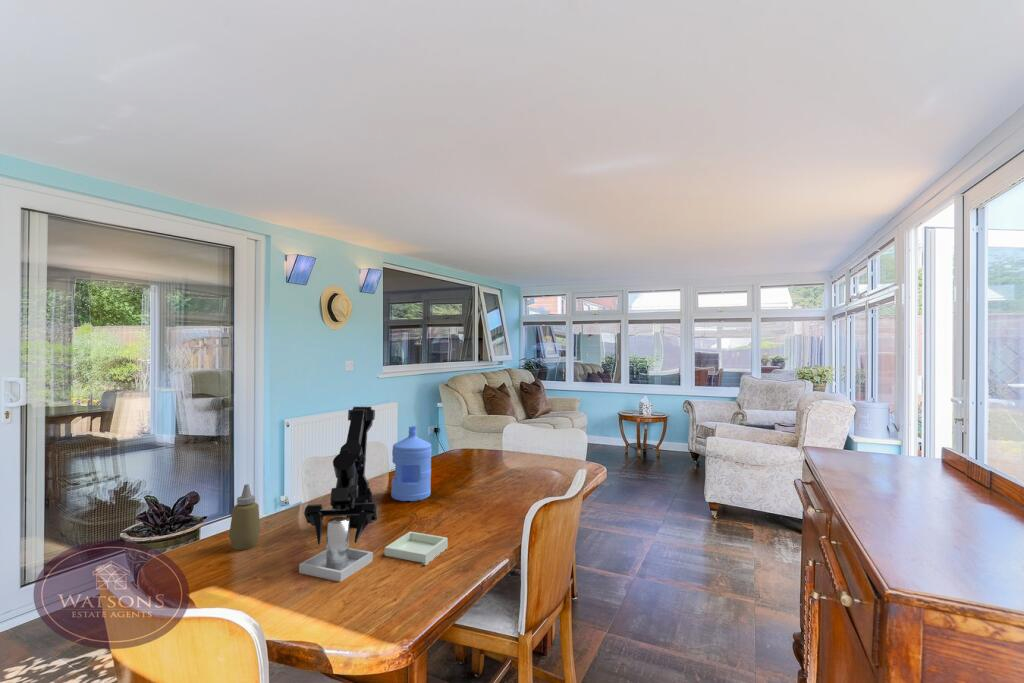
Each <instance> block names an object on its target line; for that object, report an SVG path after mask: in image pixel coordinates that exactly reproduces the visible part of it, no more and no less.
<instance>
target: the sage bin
mask: <svg viewBox="0 0 1024 683" xmlns="http://www.w3.org/2000/svg"><path fill="white" fill-rule="evenodd" d="M448 543H449V538H448V537H444V536H440V535H433V534H427V533H421V532H417V531H416V532H415V531H408V532H407V533H405V534H403V535H402V536H400V537H398V539H395V540H394V541H393V542H391V543H389V544H388V545H386V546H385V547H384V556H385V557H390V558H391V557H392V558H396V559H399V560H400V559H401V560H407V561H413V562H416V563H417V562H418V563H421V566H423V565H426V566H427V565H428V564H430V563H431V562H433V560H435V559H436V558H437V557H439V556H440V555H441V554H442V553H444V551H446V550H447V549H448V545H449V544H448ZM445 549H446V550H445ZM441 552H442V553H441ZM440 553H441V554H440ZM436 556H437V557H436ZM435 557H436V558H435ZM434 558H435V559H434ZM430 561H431V562H430ZM429 562H430V563H429Z"/></svg>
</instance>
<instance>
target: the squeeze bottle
mask: <svg viewBox="0 0 1024 683" xmlns="http://www.w3.org/2000/svg"><path fill="white" fill-rule="evenodd" d="M260 521H261V520H260V510H259V504H258V503H257V502H256V495H254V494H252V492H251V487H250V484H248V483H247V484H244V486H243V488H242V493H241V496H238V497H237V498H236V505H234V507H232V514H231V520H230V526H229V534H228V538H229V541H230V543H231V545H232V549H233V550H235V551H242V550H248V549H251V548H254V547H255V546H256V545H257V543H258V540H259V538H260V535H261V522H260Z"/></svg>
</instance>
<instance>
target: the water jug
mask: <svg viewBox="0 0 1024 683" xmlns="http://www.w3.org/2000/svg"><path fill="white" fill-rule="evenodd" d="M417 428H418V426H413V425H412V426H408V436H407V437H406V438H404V439H401V440H399V441H397V442H395V443H393V445H392V451H391V452H392V454H391V455H392V463H393V464H394V465H395V470H394V471H395V472H394V477H393V478H392V479H391V491H390V493H391V495H390V496H391V498H392V499H394V500H396V501H398V500H399V501H400V502H406V501H410V502H418V500H419V501H424V500H426V499H427V498H429V497H430V496H431V493H432V492H431V491H432V489H431V478H432V477H431V475H432V454H433V452H432V451H433V450H432V444H431V442H429V441H426V440H424V439H422V438H420V437H418V436H417V433H418V432H417Z"/></svg>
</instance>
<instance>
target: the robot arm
mask: <svg viewBox="0 0 1024 683" xmlns="http://www.w3.org/2000/svg"><path fill="white" fill-rule="evenodd" d="M347 412H348V413H347V421H349V426H348V432H347V437H346V442H345V443H344V444H343V445H342V446H341V447H340V450H339V453H338V454H337V455H336V456H335V457H334V458H333V460H332V465H333V470H334V474H335V478H336V484H335V487H332V488H331V492H330V498H329V499H330V500H329V501H330V506H331V508H323V505H322V503H321V504H320V503H317V504H307V505H306V507H305V508H304V511H303V514H304V518H305V520H306V523H307V524H310V525H311V526H313V527H315V532H316V539H317V544H318V546H320V545H321V543H322V537H323V528H324V523H323V520H324V517H325V518H326V517H345V516H346V517H347V518H349V519H350V525H349V527H353V528H356V530H355V534H354V544H357V543H358V541H359V539H360V537H361V535H362V534H363V532H364V531H365V529H366V528H367V527H368V525H370V524H372V523H373V522H374V521H378V517H379V516H378V515H379V514H378V513H379V512H378V511H379V510H378V504H377V503H376V502H375V501H374V502H373V491H372V490H371V488H370V483H369V481H368V479H367V477H366V475H365V474H366V462H367V461H366V460H367V446H368V445H367V443H368V432H369V431H370V429H371V427H372V426H373V421H374V420H375V417H376V410H375V409H372V406H353V408H352V409H348V411H347Z"/></svg>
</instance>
